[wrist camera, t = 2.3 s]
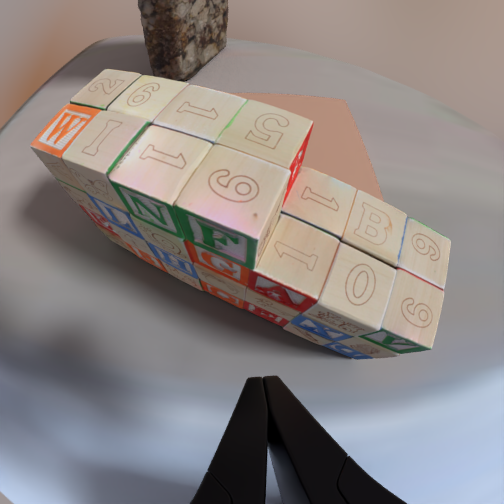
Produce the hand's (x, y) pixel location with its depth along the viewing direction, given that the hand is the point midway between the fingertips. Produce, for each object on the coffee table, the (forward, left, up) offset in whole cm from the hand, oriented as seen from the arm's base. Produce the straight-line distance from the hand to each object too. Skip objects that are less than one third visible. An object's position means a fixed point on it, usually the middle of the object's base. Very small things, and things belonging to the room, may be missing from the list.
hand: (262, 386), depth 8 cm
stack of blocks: (+8, 0, -12) cm, 14 cm away
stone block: (+38, +6, -12) cm, 41 cm away
